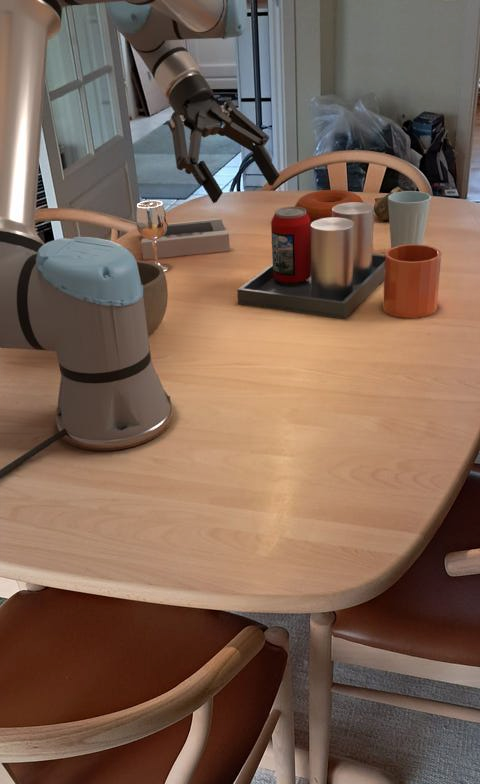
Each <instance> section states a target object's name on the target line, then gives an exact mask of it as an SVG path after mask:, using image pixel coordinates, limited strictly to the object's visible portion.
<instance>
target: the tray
mask: <svg viewBox="0 0 480 784" xmlns="http://www.w3.org/2000/svg"><path fill="white" fill-rule="evenodd" d="M384 266H385V254H377V253H372V274H371V275H370V276H369V277H368V278H367V279H365V280H364V281H363V282H362V283H361V284H353V292H352V293H351V294H350V295H349V296H348V297H347V298H346V299H344V300H343V301H335V300H328V299H320V298H312V296H311V276H310V278H308V279H307V280H306V281H305V282H303V283H301V284H296V285H285V284H282V283H280V282H279V281H277V280H275V279H274V277H273V262H272V263H270V264H269V265H268V266H266V267H265V268H264V269H262V270H261V271H260V272H259V273H257V274H256V275H255V276H253V277H252V278H250V279H249V280H248V281H246V282H245V283H244V284H243V285H241V286H240V287H239V288H237V289H236V290H237V291H236V292H237V304H238V305H243V306H248V307H249V306H250V307H256V308H264V309H271V310H277V311H286V312H293V313H298V314H299V313H300V314H306V315H313V316H322V317H328V318H334V319H335V318H336V319H342V320H343V319H344V320H345V319H346V318H348V317H349V316H350V315H351V314H352V313H353V312H354V311H355V310H356V309H357V308H358V307H359V305H361V303H363V302H364V301H365V300H366V299H367V298H368V297H369V295H371V294H372V293H373V292H374V291H375V290H376V288H378V287H379V286H380V285H381V284H382V283H383V282H384Z"/></svg>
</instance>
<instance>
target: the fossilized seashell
mask: <svg viewBox="0 0 480 784" xmlns="http://www.w3.org/2000/svg"><path fill="white" fill-rule="evenodd" d="M404 191H405V190H403V188H401V187H399V186H396V187H395V188H393V189H392V190H391V191H390V192H389V193H387V194H386V195H384V196H382V197H381V196H380V197H376V198H374V204H373V207H374V214H375V215H376V216H377V217H378V218H379V219H380V220H384V221H387V220H388V221H389V207H388V196H389V195H391V194H393V193H397V192H404Z"/></svg>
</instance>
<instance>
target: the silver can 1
mask: <svg viewBox="0 0 480 784" xmlns="http://www.w3.org/2000/svg"><path fill="white" fill-rule="evenodd" d="M310 227H311V296H312V298H320V299H328V300H335V301H343V300H344V299H346V298H347V297H348V296H349V295H350V294H351V293H352V292H353V260H354V222H353V221H352V220H350V219H346V218H338V217H331V218H323V219H319V220H316V221H314V222H312V223H311V226H310Z"/></svg>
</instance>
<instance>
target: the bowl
mask: <svg viewBox="0 0 480 784" xmlns="http://www.w3.org/2000/svg"><path fill="white" fill-rule="evenodd" d="M136 262H137V266H138V271H139V276H140V280H141V283H142V285H143V299H144V307H145V315H146V323H147V331H148V338H150V337H151V336H152V335H153V334H154V333H155V332H156V331H157V330H158V328H160V325H161V323H162V322H163V320H164V317H165V315H166V311H167V308H168V299H169V298H168V297H169V294H168V293H169V292H168V291H169V290H168V282H167V277H166V274H165V271H164V270H163V269H162V267H161V266H159V265H157V264H155V262H149V261H145V260H136Z"/></svg>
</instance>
